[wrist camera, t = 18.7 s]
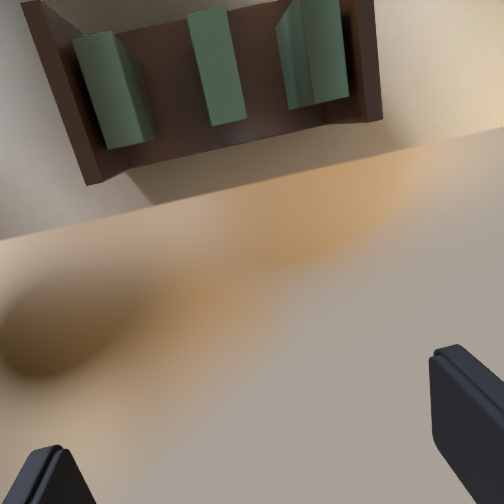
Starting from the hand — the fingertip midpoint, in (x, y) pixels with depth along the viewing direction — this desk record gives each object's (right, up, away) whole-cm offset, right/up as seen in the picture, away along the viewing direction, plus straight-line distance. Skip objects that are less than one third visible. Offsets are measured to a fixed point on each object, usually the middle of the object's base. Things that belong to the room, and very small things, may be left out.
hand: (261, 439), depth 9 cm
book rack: (-4, +20, +25) cm, 32 cm away
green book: (-4, +20, +24) cm, 31 cm away
